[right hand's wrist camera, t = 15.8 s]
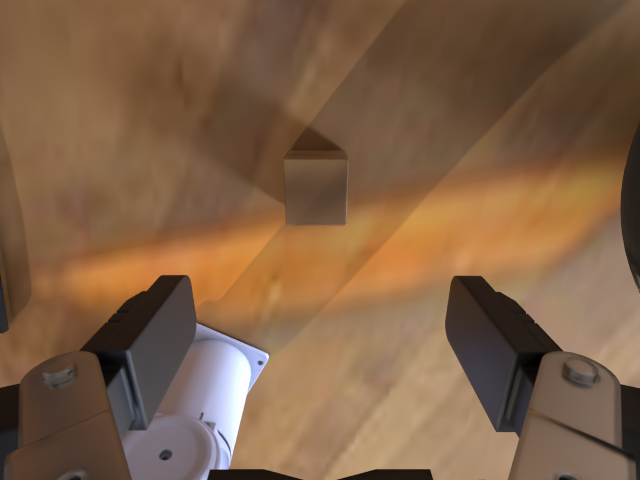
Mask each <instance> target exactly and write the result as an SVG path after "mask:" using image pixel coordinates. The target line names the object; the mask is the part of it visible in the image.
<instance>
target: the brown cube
mask: <svg viewBox="0 0 640 480" xmlns="http://www.w3.org/2000/svg"><path fill="white" fill-rule="evenodd" d="M348 167H349V160H348V157H347V155H346V153H345V151H344V150H289V151H288V153H287V155H286V157H285V158H284V178H285V208H286V225H346V224H347V198H348Z"/></svg>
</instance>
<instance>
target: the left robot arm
mask: <svg viewBox="0 0 640 480" xmlns="http://www.w3.org/2000/svg"><path fill="white" fill-rule="evenodd" d="M259 361H262V362H259ZM267 361H268V354H267V353H265V352H263V351H261V350H258V349H256V348H254V347H251V346H249V345H247V344H244V343H242V342H240V341H237V340H235V339H233V338H230V337H228V336H226V335H224V334H221V333H219V332H217V331H214V330H212V329H210V328H207V327H205V326H203V325H200V324H198V323H197V326H196V334H195V337H194V340H193V342H192V344H191V346H190V348H189V350H188V352H187V354H186V356H185V358H184V359H183V361H182V363H181V365H180V367H179V369H178V371H177V373H176V375H175V377H174V379H173V381H172V383H171V384H170V386H169V388H168V390H167V392H166V394H165V396H164V398H163V400H162V402H161V404H160V406H159V408H158V410H157V411H156V413H155V415H154V417H153V419H152V421H151V423H150V425H149V427H148V429H147V431H127V432H126V434H125V436H124V438H123V439H122V441H121V442H122V445H123V449H124V452H125V456H126V459H127V463H128V467H129V470H130V474H131V477H132V480H207V478H208V474H209V471H210V469H229V466H230V462H231V458H232V454H233V449H234V445H235V441H236V437H237V433H238V429H239V424H240V420H241V416H242V412H243V408H244V403H245V399H246V395H247V393H248V392H249V390H250V388H251V387H252V385H253V384H254V382H255V380H256V379H257V377H258V375H259V374H260V372H261V371H262V369H263V367H264V366H265V364H266V363H267Z"/></svg>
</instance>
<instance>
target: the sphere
mask: <svg viewBox="0 0 640 480" xmlns="http://www.w3.org/2000/svg"><path fill="white" fill-rule="evenodd" d="M621 227H622V236H623V241H624V247H625V252H626V255H627V259H628V263H629V266H630V270H631V272H632V275H633V278H634V281H635V283H636V286H637V288H638V290H639V292H640V123H639V126H638V128H637V131H636V133H635V136H634V139H633V141H632V144H631V147H630V151H629V154H628V158H627V162H626V166H625V170H624V176H623V183H622V191H621Z"/></svg>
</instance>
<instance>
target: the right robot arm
mask: <svg viewBox="0 0 640 480" xmlns="http://www.w3.org/2000/svg"><path fill="white" fill-rule="evenodd" d="M196 326H197V321H196V313H195V306H194V300H193V293H192V286H191V281H190V278H189V277H188V276H187V275H162V276H160V277H159V278H158V279H157V280H156V281H155V282H154V284H153V285H152V286H151V287H150V288H149V289H148V290H147V291H142V292H140V293H139V294H137V295H135V296H134V297H132V298H130V299H128V300H127V301H126V302H125V303H124V304H123V305H122V306H121V307H120V308H119V309H118V310H117V313H115V314H114V315H113V316H112V317H111V318H110V319H109V320H108V323H105V324H104V325H103V326H102V327H101V328H100V329H99V330H98V331H97V333H96V334H95V335H94V336H93V337H92V338H91V339H90V340H89V341H88V342H87V343H86V344H85V345H84V346H83V347H82V348H81V349H80V350H79V351H75V352H69V353H64V354H61V355H58V356H55V357H52V358H50V359H48V360H46V361H44V362H42V363H40V364H39V365H37V366H36V367H34V368H33V369H32V370H30V371H29V372H28V373H27V374H26V375H25V376H24V378H23V379H22V381H21V383H20V384H16V385H11V386H7V387H2V388H0V480H132V477H131V474H130V470H129V467H128V463H127V459H126V456H125V452H124V449H123V445H122V442H121V441H122V439H123V438H124V436H125V434H126V432H127V431H147V429H148V427H149V425H150V423H151V421H152V419H153V417H154V415H155V413H156V411H157V410H158V408H159V406H160V404H161V402H162V400H163V398H164V396H165V394H166V392H167V390H168V388H169V386H170V384H171V383H172V381H173V379H174V377H175V375H176V373H177V371H178V369H179V367H180V365H181V363H182V361H183V359H184V358H185V356H186V354H187V352H188V350H189V348H190V346H191V344H192V342H193V340H194V337H195V334H196ZM445 329H446V335H447V338H448V341H449V343H450V345H451V347H452V349H453V351H454V352H455V354H456V356H457V358H458V360H459V362H460V364H461V366H462V368H463V370H464V371H465V373H466V375H467V377H468V379H469V381H470V383H471V385H472V387H473V389H474V390H475V392H476V394H477V396H478V398H479V400H480V402H481V404H482V406H483V408H484V410H485V411H486V413H487V415H488V417H489V419H490V421H491V423H492V425H493V427H494V429H495V430H496V432H516V434H517V435H518V437H519V442H518V445H517V449H516V452H515V456H514V459H513V463H512V467H511V470H510V474H509V477H508V480H640V388H636V387H631V386H626V385H622V384H620V383H619V381H618V379H617V378H616V376H615V375H614V374H613V373H612V372H611V371H610V370H608V369H607V368H606V367H604V366H603V365H601V364H600V363H598V362H596V361H594V360H592V359H590V358H588V357H585V356H582V355H579V354H576V353H571V352H565V351H563V350H562V349H561V348H560V347H559V346H558V345H557V344H556V343H555V342H554V341H553V340H552V339H551V338H550V337H549V336H548V335H547V334H546V332H545V331H544V330H543V329H542V328H541V327H540V326H539V325H538V324H537V323H535V322H534V320H533V319H532V318H531V317H530V316H529V315H528V314H526V312H525V311H524V309H523V308H522V307H521V306H520V305H519V304H518V303H517V302H516V301H514V300H513V299H511V298H509V297H508V296H506V295H504V294H502V293H501V292H495V291H494V289H493V288H492V287H491V286H490V285H489V284H488V283H487V282H486V281H485V279H484V278H483V277H482V276H454V277H453V279H452V282H451V287H450V293H449V300H448V306H447V313H446V320H445ZM7 330H8V323H7V316H6V309H5V302H4V295H3V289H2V282H1V276H0V333H4V332H6V331H7ZM207 480H302V479H298V478H294V477H291V476H287V475H283V474H279V473H276V472H272V471H268V470H265V469H210V471H209V474H208V478H207ZM338 480H433V478H432V474H431V471H430V469H375V470H372V471H368V472H364V473H360V474H357V475H353V476H349V477H346V478H342V479H338Z"/></svg>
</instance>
